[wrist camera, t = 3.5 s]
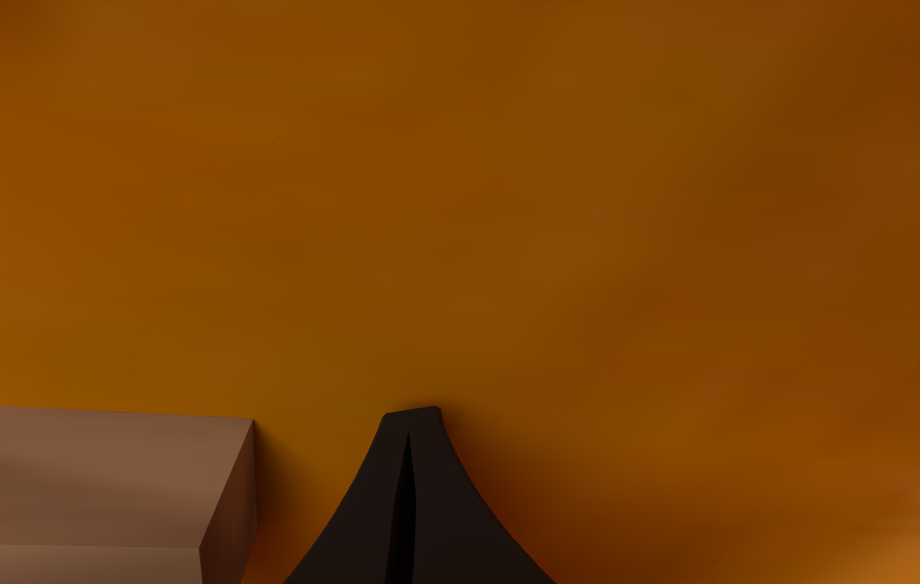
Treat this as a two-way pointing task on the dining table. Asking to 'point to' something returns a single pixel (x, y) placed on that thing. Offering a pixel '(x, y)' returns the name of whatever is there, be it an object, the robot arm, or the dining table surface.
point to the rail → (125, 497)
